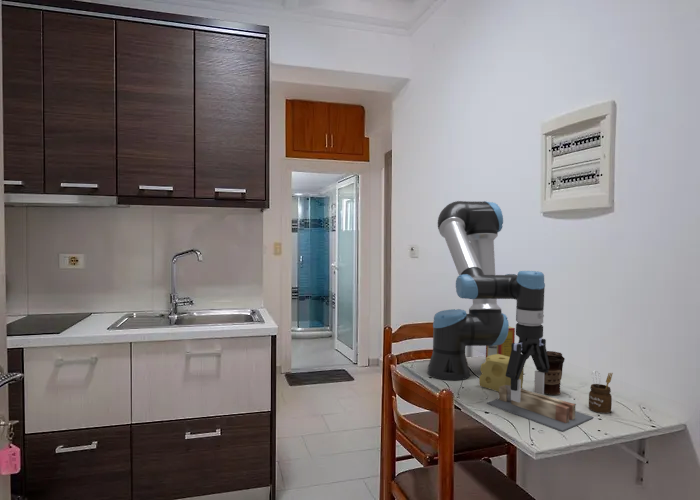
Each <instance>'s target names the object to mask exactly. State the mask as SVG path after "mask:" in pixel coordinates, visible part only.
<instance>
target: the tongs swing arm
mask: <svg viewBox="0 0 700 500" xmlns="http://www.w3.org/2000/svg"><path fill="white" fill-rule="evenodd" d="M521 392H523V393H526V394H529V395H532V396H536V397H539V398H542V399H545V400H548V401H551V402H554V403H557V404H561V405H564V406H567V407H570V409H569V419H571V420H573V419H575V411H576V403H572V402H570V401H566V400H561V399H559V398H555V397H551V396H548V395H546V394H543V395H542V394H539V393H535V392H534V391H529V390H526V389H523V388H521Z"/></svg>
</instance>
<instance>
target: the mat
mask: <svg viewBox="0 0 700 500" xmlns="http://www.w3.org/2000/svg"><path fill="white" fill-rule="evenodd" d="M486 405H489V406H492V407H494V408H498V409H500V410H502V411H505V412H508V413H510V414H514V415H515V416H518V417H520V418H524V419H527V420H530V421H532V422H535V423H538V424H540V425H543V426H546V427H548V428H551V429H554V430H556V431H559V432H563V433H564V432H566V431H568V430H570V429H572V428H575V427H577V426H579V425H581V424H584V423H586V422H588V421H592V420H593V419H594V416H591V415H589V414H586V413H583V412H581V411H580V412H579V411H577V410H575V419H573V420H571V419H569V422H568V423H564V422H561V421H558V420H555V419H552V418H550V417H547V416H544V415H541V414H538V413H535V412H533V411H530V410H527V409H524V408H521V407H518V406H516V405H513V404H511V402H505V401H502V400H499V398H497V399H493V400H490V401H487V402H486Z"/></svg>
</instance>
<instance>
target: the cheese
mask: <svg viewBox="0 0 700 500" xmlns="http://www.w3.org/2000/svg"><path fill="white" fill-rule="evenodd" d="M509 358H510V357H508V356H504V355H501V354H494V355H490V356H488V357H486V356H485V361H484V363H481V365H480V370H479V371H480V372H481V374H480V375H479V380H478V381H479V382H478V384H479V387H481V388H486V389H489V390H492V391H496V392H497V393H499V387H500V386H503V385H510V386H511V378H509V377H506V371H507V367H508V363H509ZM519 379H521V389H523V385H524V367H523V370H522V372H521V375H520V377H519Z"/></svg>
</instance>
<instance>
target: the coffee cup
mask: <svg viewBox="0 0 700 500" xmlns="http://www.w3.org/2000/svg"><path fill="white" fill-rule="evenodd" d="M546 351H547V356H548V361H549V366H550V367H549V369H548V370H549V371H548V373H546V372H545V376H544V395H552V396H553V395H554V396H555V395H560V394H561V380H562V376H563V368H564V367H563V366H564V362H565V360H566V359H565V357H564V356H563V353H562V352H559V351H554V350H552V351H551V350H546ZM544 364H545V363H544Z"/></svg>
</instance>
